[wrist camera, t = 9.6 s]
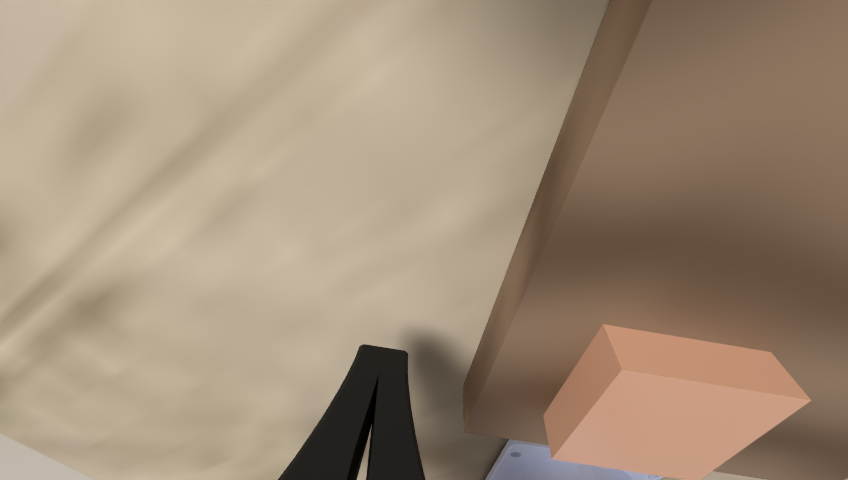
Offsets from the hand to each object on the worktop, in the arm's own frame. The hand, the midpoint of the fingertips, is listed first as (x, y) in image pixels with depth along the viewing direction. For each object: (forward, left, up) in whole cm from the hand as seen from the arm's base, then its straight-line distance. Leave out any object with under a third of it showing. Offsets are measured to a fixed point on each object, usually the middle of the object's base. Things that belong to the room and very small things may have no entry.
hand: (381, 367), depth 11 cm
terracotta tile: (0, -9, -1) cm, 9 cm away
